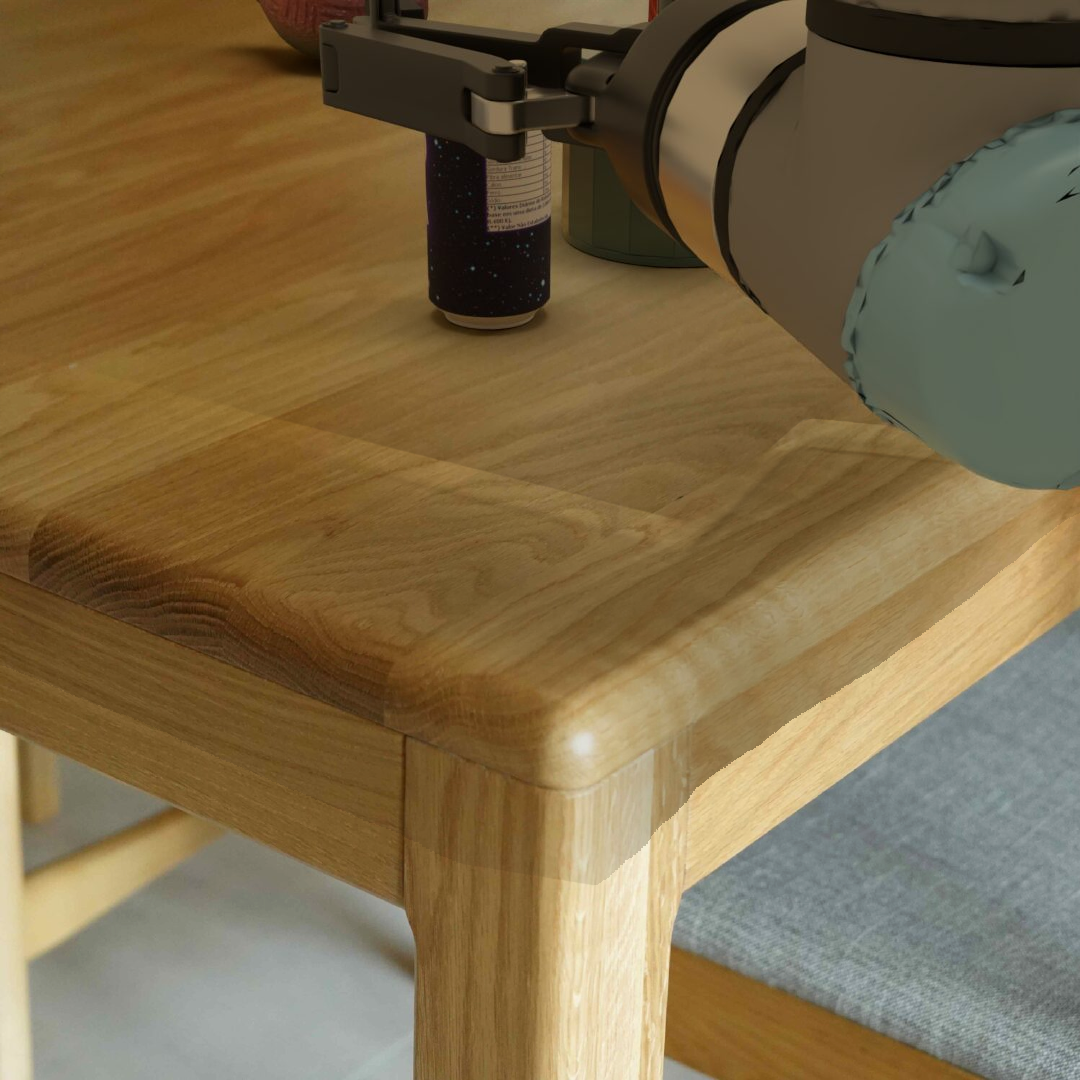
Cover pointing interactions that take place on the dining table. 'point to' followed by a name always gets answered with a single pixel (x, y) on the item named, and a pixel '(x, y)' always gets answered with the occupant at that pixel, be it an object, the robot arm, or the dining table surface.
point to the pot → (611, 215)
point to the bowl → (312, 19)
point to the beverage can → (488, 232)
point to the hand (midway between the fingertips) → (553, 9)
